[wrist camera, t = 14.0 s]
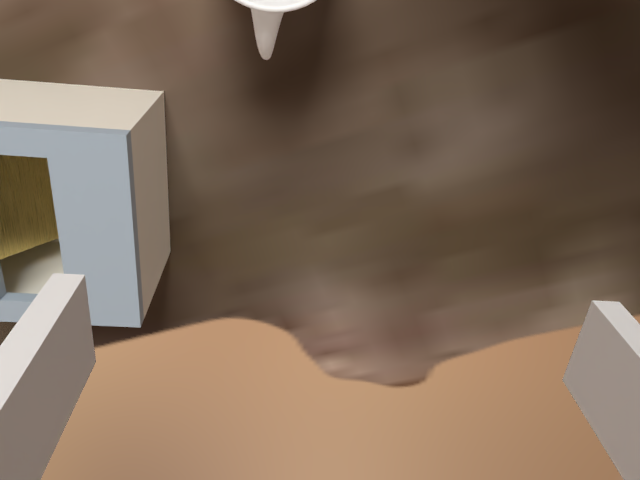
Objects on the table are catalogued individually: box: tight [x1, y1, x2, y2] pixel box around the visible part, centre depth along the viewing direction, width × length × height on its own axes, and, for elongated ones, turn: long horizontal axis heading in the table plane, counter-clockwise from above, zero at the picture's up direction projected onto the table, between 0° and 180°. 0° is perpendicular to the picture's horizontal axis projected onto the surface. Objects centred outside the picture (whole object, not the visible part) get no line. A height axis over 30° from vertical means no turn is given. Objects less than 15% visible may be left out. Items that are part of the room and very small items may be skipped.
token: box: [0, 155, 59, 259], centre depth 41 cm, size 8×2×8 cm
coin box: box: [0, 79, 171, 328], centre depth 41 cm, size 14×14×11 cm
